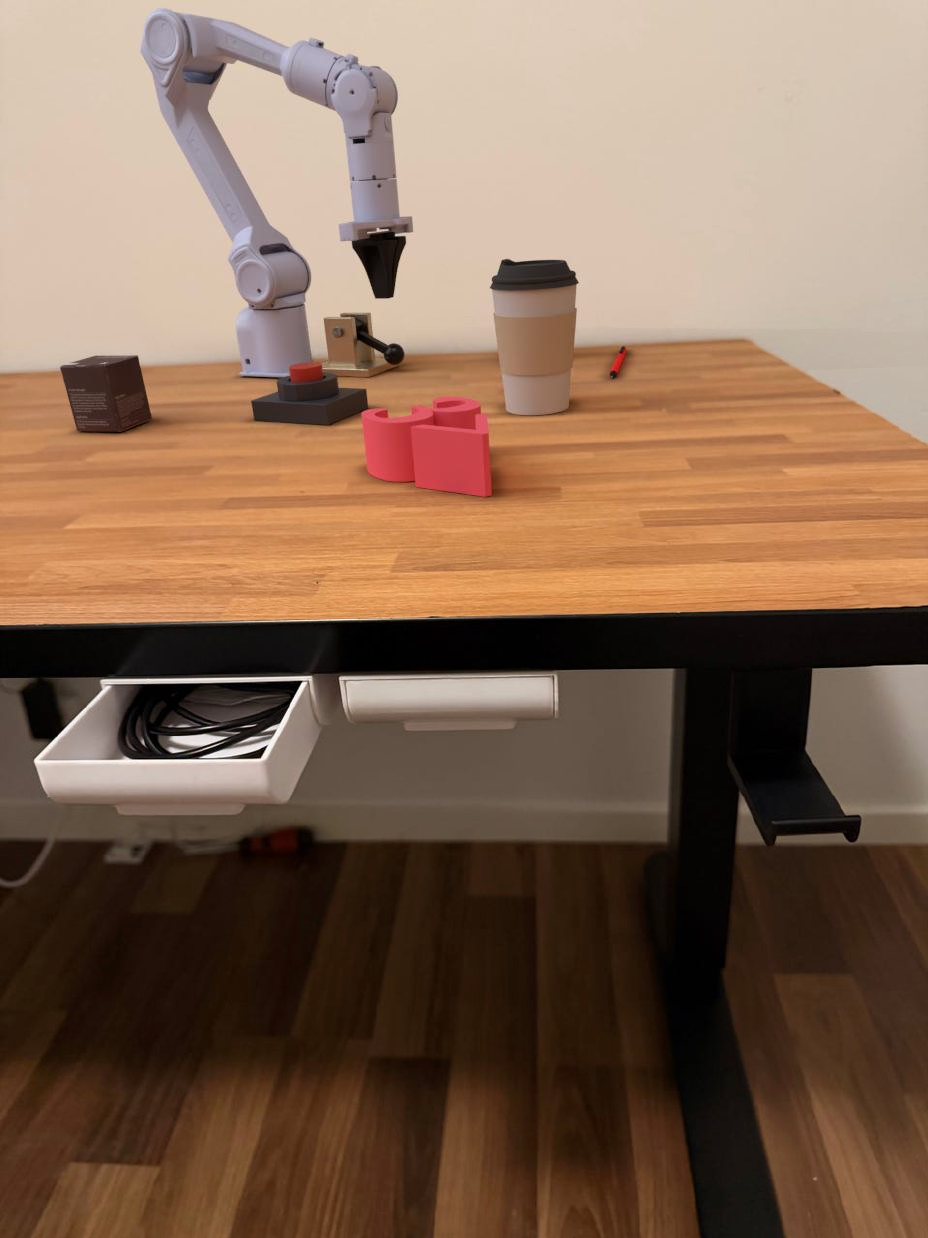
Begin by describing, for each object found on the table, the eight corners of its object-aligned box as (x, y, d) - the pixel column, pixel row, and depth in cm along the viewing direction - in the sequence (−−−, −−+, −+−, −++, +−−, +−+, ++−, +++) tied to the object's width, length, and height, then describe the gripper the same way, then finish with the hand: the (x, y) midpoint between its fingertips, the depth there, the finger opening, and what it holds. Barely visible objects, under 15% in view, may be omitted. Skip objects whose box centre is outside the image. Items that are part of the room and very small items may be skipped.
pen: (627, 352, 125) (627, 344, 124) (615, 380, 108) (615, 371, 107) (620, 352, 125) (620, 344, 124) (608, 380, 108) (608, 371, 108)
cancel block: (254, 420, 100) (248, 383, 98) (296, 404, 106) (291, 369, 104) (328, 425, 95) (323, 387, 94) (368, 408, 102) (364, 372, 100)
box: (154, 420, 103) (140, 354, 100) (119, 433, 98) (104, 364, 95) (110, 419, 105) (95, 354, 102) (75, 432, 100) (58, 364, 97)
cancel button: (284, 384, 98) (282, 368, 98) (303, 377, 101) (301, 361, 101) (311, 385, 97) (309, 368, 96) (330, 378, 100) (328, 362, 99)
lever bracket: (399, 365, 125) (394, 310, 122) (368, 377, 119) (362, 319, 116) (339, 363, 129) (333, 310, 126) (306, 374, 123) (299, 319, 120)
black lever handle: (404, 366, 122) (410, 347, 120) (394, 370, 120) (400, 350, 118) (343, 332, 124) (348, 313, 122) (332, 335, 122) (337, 316, 120)
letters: (541, 484, 72) (540, 422, 70) (428, 510, 68) (422, 445, 66) (461, 448, 84) (457, 394, 82) (359, 468, 80) (353, 411, 78)
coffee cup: (590, 399, 99) (590, 252, 92) (563, 419, 91) (561, 261, 85) (514, 397, 102) (508, 255, 96) (482, 415, 95) (474, 264, 88)
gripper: (370, 179, 102) (382, 305, 108) (430, 176, 113) (437, 290, 119) (318, 183, 105) (333, 305, 111) (382, 180, 116) (392, 291, 122)
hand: (384, 297), depth 115 cm, fingers closed
